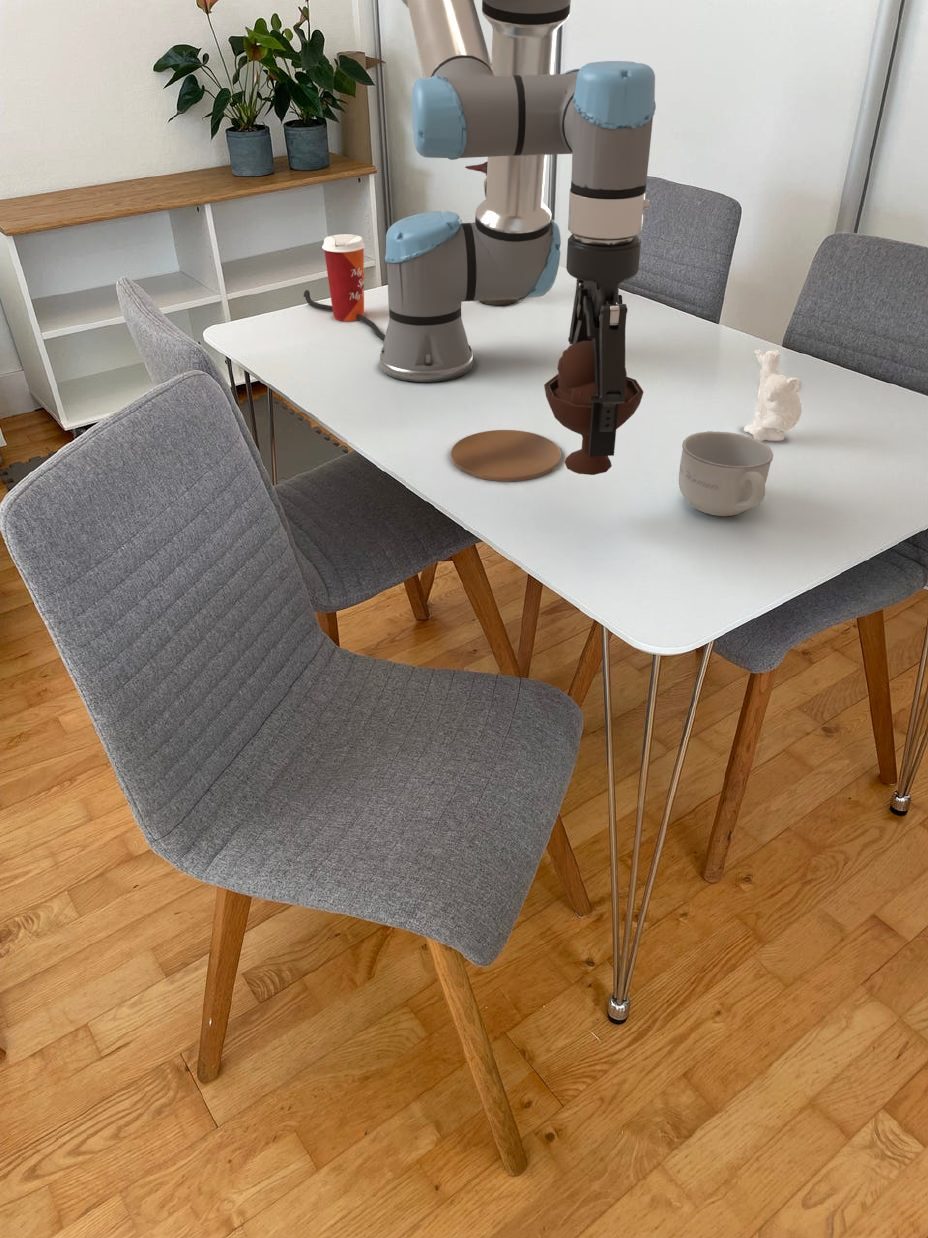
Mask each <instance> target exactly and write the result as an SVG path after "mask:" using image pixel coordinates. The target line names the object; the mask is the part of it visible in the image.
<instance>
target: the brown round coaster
mask: <svg viewBox="0 0 928 1238" xmlns="http://www.w3.org/2000/svg"><path fill="white" fill-rule="evenodd" d="M561 454H562V453H561V450H560V448H559V446H558V445H557V444H556V443H555V442H553V441H552V440H551V439H549V438H547V437H545V436H543V435H540V434H537V433H533V432H529V431H523V430H515V429H495V430H494V429H493V430H487V431H481V432H480V431H479V432H476V433H473V434H471V435H467V436H465V437H463V438H461V439H460V440H458V441H457V442H456V443H455V444H454V445H453V446H452V448H451V451H450V459H451V461H452V464H453V465H454V466H455V467H456V469H458V470H459V471H460V472H463V473H464V474H466V475H468V476H471V477H474V478H478V479H481V480H487V481H494V482H521V481H528V480H532V479H536V478H539V477H542V476H544V475H546V474H549V473H550V472H552V471H553V470H555V469H556V468H557V467H558V465H559V464H560V462H561Z"/></svg>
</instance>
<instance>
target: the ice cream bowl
mask: <svg viewBox="0 0 928 1238" xmlns="http://www.w3.org/2000/svg"><path fill="white" fill-rule="evenodd" d="M556 369H557V371H558V373H557V374H555V375H554V376H553V377H552V378H550V379H549V380H548V381H546V383H544V384H543V386H544V393H545V398H546V400H547V403H548V406H549V408H550V410H551V412H552V414H553V417H554V418H555V419H556V420H557V422H559V423H560V425H562V427H564V428H566V429H568V430H569V431H571V432H574V433H576V434H578V435H581V437H582V440H581V448H580V449H578V450H575V451H572V452H571V453H569V454H568V455H567V456H566V457H565V460H564V465H565V467H566V469H567V470H569V471H571V472H573V473H576V474H578V475H586V476H587V475H588V476H595V475H600V474H604V473H607V472H608V471H609V470H610V469H611V468H612V466H613V465H612V461H611V459H610V458H609V457H610V456H595V457H590V456H589V454H588V453H589V439H590V425H591V412H592V403H589V398H590V397H591V396H595V378H594V360H593V342H592V341H581V342H578V343H576V344H573V345H569V346H568V347H567V349H564V351H562V355H561V356H560V358H559V359H558V364H557V368H556ZM625 395H626V399H625V402H624V403H619V404H618V415H617V427H616V430H618V429H619V428H620V427H622V426H623V425H624V424H625V423H626V422H627V421H628V420H629V419H630V418H631V417H633V416H634V414H635V413H636V411H637V410H638V408H639V406H640V405H641V402H642V399H643V396H644V390H643V388H642V387H641V386H640V384H639V382H638V381H637V380H636V379H634V378H631V377H629V376H628V375H627V369H626V368H625Z"/></svg>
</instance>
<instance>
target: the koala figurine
mask: <svg viewBox="0 0 928 1238" xmlns="http://www.w3.org/2000/svg"><path fill="white" fill-rule="evenodd" d="M780 354H781V353H780V351H779V350H778V349H770V350H767V351H766V352H763V351H762V349H760V348H758V349H755V350H754V355H755V357H756V359H757V361H758V363H759V364H760V365H761V368H760V369H759V370H760V371H759V373H758V374H759V375H758V377H759V388H758V392H757V394H758V396H757V401H756V405H755V409H754V414H753V415H754V416H753V421H752V423H750V424H747V425H745V426H744V428H743V432H745V433H749V434H750V435H752V436H753V438H754V439H756V440H759V441H761V442H763V441H767V442H779V441H781V442H782V441H783V440H784V439H785V435H784V434H783V433H781V432H785V431H789V430H792V429H793V428H794V427H796V425H797V424H798V422H799V421H800V418H801V414H802V403H801V399H800V397H799V394H798V393H799V392H800V391H801V389H802V381H801V379H800V378H797V377H789V376H787V375H786V374H780V373H778V371H779V363H780Z"/></svg>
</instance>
